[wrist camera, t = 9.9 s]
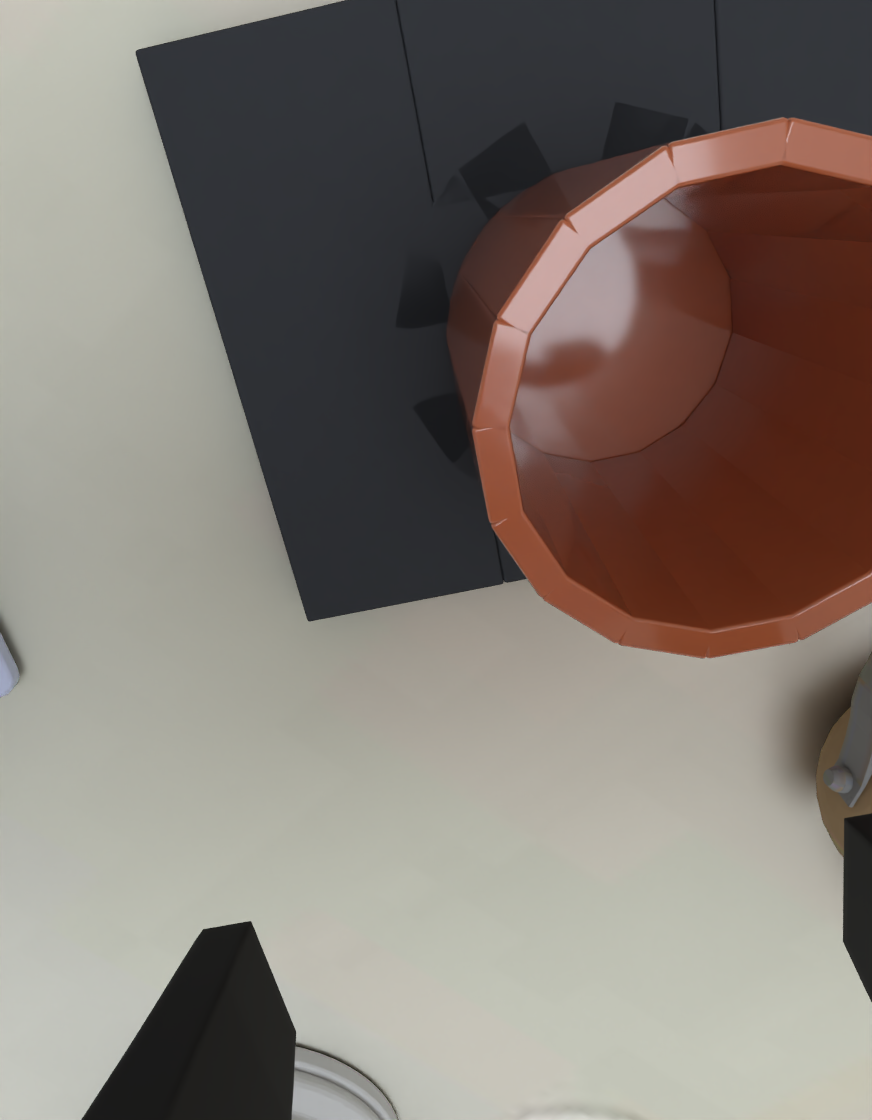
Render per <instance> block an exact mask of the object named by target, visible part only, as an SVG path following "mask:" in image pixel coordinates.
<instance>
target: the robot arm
mask: <svg viewBox="0 0 872 1120" xmlns="http://www.w3.org/2000/svg"><path fill="white" fill-rule="evenodd" d="M19 676H20V675H19V671H18V668H17V666H16V664H15V661H14V659H13V657H12V655H11V653H10V651H9V649H8V647H7V645H6V643H5V641H4V639H3V637H2V635H1V633H0V697H2V696H5V695H7V694H8V693H9V692H10V691H11V690H12V689H13V688H14V686H15V685H16V684H17V683H18V680H19ZM843 942H844V944H845V947H846V949H847V951H848V953H849V955H850V957H851V959H852V962H853V964H854V966H855V968H856V970H857V972H858V974H859V976H860V979H861V981H862V983H863V985H864V987H865V989H866V991H867V993H868V995H869V997H870V999H871V1002H872V813H871V814H865V815H859V816H853V817H848V818H844V894H843ZM295 1046H296V1030H295V1028H294V1026H293V1023H292V1021H291V1018H290V1016H289V1013H288V1011H287V1008H286V1006H285V1003H284V1001H283V999H282V996H281V994H280V991H279V989H278V986H277V984H276V981H275V979H274V976H273V974H272V972H271V969H270V967H269V964H268V962H267V959H266V957H265V954H264V952H263V949H262V947H261V945H260V942H259V940H258V937H257V935H256V932H255V930H254V927H253V925H252V922H251V921H249V922H243V923H237V924H231V925H226V926H220V927H214V928H208V929H203V930H202V932H201V933H200V935H199V936H198V937H197V939H196V940H195V942H194V944H193V945H192V947H191V948H190V950H189V951H188V953H187V955H186V956H185V958H184V959H183V961H182V963H181V964H180V966H179V968H178V969H177V971H176V972H175V974H174V976H173V977H172V979H171V980H170V982H169V984H168V985H167V987H166V989H165V990H164V992H163V993H162V995H161V997H160V998H159V1000H158V1001H157V1003H156V1005H155V1006H154V1008H153V1009H152V1011H151V1013H150V1014H149V1016H148V1017H147V1019H146V1021H145V1022H144V1024H143V1025H142V1027H141V1029H140V1030H139V1032H138V1033H137V1035H136V1037H135V1038H134V1040H133V1041H132V1043H131V1045H130V1046H129V1048H128V1049H127V1051H126V1052H125V1054H124V1055H123V1057H122V1058H121V1060H120V1062H119V1063H118V1065H117V1066H116V1068H115V1069H114V1071H113V1072H112V1074H111V1075H110V1077H109V1078H108V1080H107V1081H106V1083H105V1085H104V1086H103V1088H102V1089H101V1091H100V1092H99V1094H98V1095H97V1097H96V1098H95V1100H94V1101H93V1103H92V1104H91V1106H90V1108H89V1109H88V1111H87V1112H86V1114H85V1115H84V1117H83V1118H82V1120H291V1119H292V1104H293V1088H294V1068H295Z"/></svg>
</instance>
